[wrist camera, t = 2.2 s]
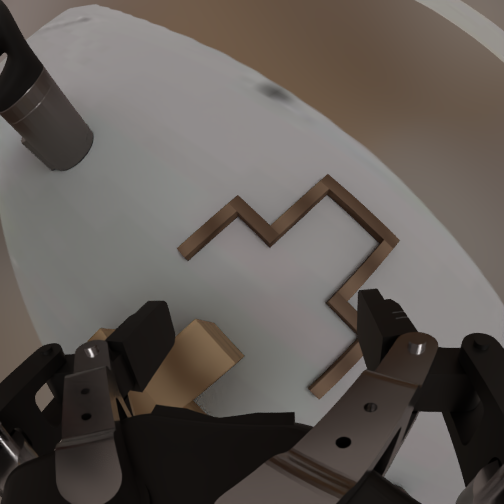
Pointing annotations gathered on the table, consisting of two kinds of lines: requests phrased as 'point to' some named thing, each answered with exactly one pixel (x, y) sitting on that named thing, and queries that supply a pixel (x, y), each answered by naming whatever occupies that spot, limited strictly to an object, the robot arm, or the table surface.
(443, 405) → the robot arm
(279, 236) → the T outline
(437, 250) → the table surface
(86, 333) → the table surface
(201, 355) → the T block
